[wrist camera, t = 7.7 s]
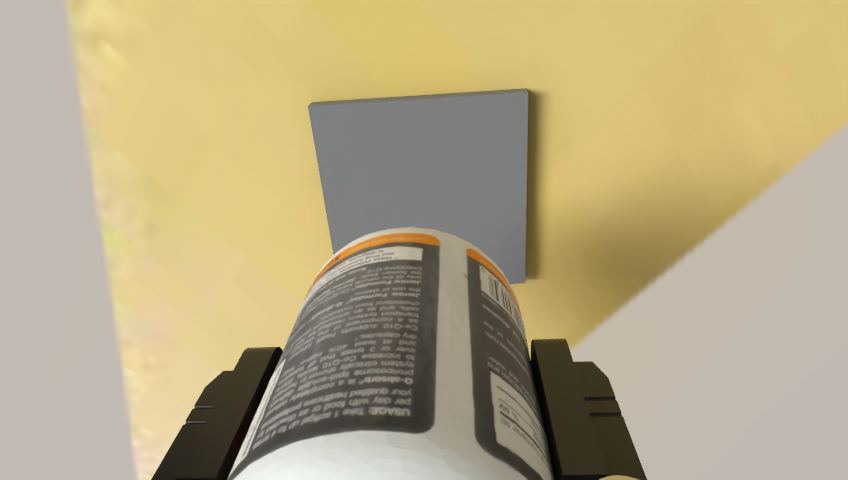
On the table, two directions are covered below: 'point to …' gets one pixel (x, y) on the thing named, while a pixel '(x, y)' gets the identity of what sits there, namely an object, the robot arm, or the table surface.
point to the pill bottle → (402, 372)
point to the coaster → (428, 168)
